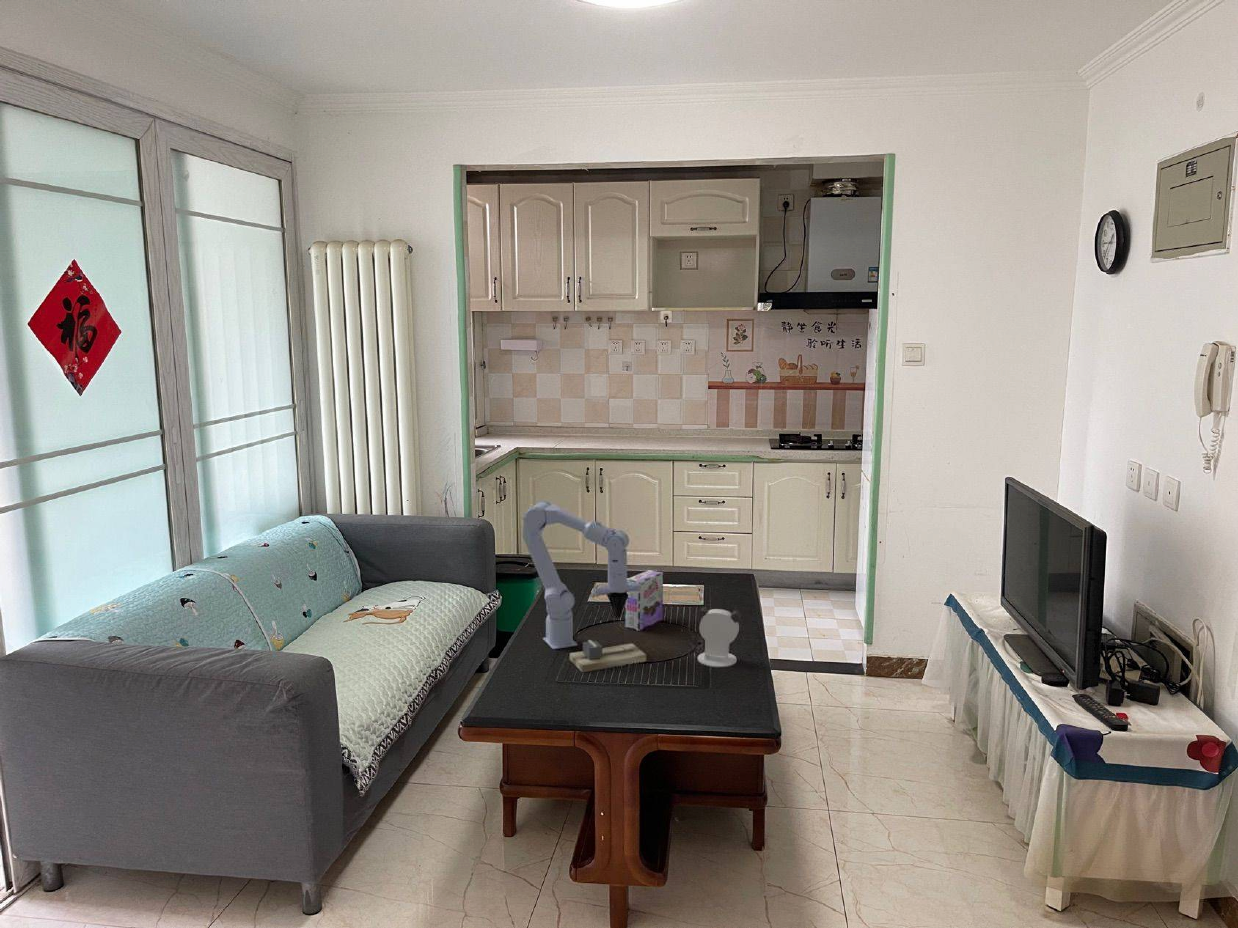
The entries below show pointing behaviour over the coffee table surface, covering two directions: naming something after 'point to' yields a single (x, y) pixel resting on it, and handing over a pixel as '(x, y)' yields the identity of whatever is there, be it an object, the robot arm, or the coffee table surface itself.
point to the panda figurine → (718, 636)
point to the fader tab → (592, 649)
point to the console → (608, 658)
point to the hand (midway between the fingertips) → (617, 616)
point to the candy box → (644, 601)
